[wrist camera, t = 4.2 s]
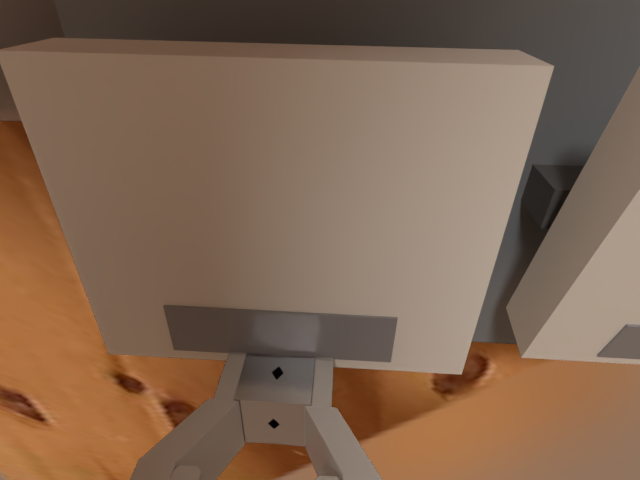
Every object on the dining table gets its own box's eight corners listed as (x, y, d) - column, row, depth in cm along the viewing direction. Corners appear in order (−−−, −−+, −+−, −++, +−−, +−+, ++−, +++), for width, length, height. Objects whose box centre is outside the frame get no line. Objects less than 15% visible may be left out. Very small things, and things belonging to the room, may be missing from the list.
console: (132, -102, 14) (-44, -147, 8) (884, -93, 13) (1379, -134, 7) (197, 243, 22) (136, 358, 16) (664, 265, 21) (795, 397, 15)
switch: (54, 37, 9) (-8, 51, 8) (518, 50, 9) (555, 66, 7) (135, 311, 13) (107, 355, 12) (448, 327, 13) (461, 376, 11)
